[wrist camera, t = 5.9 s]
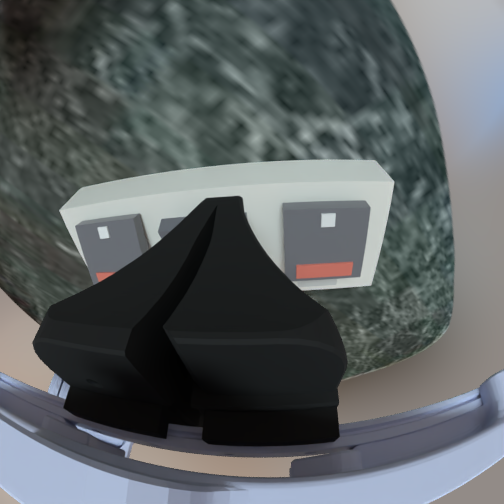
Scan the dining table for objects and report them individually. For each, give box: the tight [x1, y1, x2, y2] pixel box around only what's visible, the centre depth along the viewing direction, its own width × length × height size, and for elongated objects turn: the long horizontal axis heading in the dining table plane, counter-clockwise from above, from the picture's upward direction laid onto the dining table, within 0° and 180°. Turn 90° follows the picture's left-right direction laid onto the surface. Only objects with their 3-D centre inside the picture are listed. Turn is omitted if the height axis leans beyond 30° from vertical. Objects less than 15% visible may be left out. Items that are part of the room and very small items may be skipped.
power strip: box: [59, 160, 394, 290], centre depth 20 cm, size 9×23×4 cm, turn 95°
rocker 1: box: [75, 213, 148, 285], centre depth 18 cm, size 5×5×1 cm
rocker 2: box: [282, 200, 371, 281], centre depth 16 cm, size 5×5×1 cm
